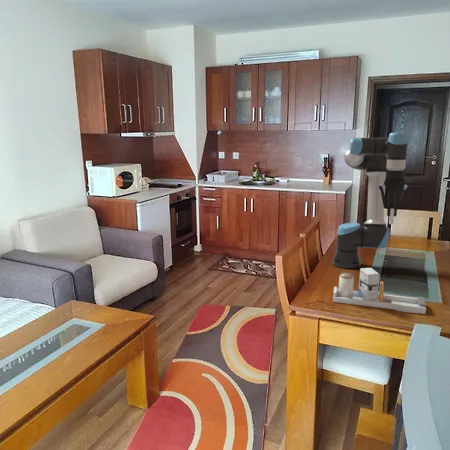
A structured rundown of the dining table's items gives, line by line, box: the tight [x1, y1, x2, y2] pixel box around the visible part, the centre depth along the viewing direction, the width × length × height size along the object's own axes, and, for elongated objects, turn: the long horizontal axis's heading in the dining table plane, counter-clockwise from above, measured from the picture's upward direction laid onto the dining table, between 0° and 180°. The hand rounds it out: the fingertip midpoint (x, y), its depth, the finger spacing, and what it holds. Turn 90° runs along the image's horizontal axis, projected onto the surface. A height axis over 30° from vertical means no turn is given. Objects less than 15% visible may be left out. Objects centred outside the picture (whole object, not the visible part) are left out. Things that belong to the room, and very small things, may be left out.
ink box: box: [358, 267, 380, 301], centre depth 168 cm, size 8×5×12 cm, turn 5°
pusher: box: [378, 281, 392, 303], centre depth 167 cm, size 7×5×8 cm
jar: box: [338, 272, 355, 299], centre depth 172 cm, size 6×6×11 cm
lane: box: [332, 286, 427, 315], centre depth 168 cm, size 10×36×4 cm, turn 72°
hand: (390, 223), depth 174 cm, fingers closed
